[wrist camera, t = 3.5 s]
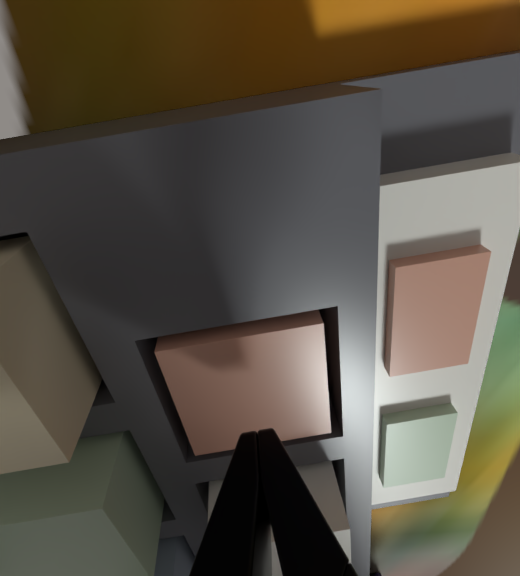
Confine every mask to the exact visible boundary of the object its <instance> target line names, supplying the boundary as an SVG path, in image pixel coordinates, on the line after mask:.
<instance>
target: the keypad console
mask: <svg viewBox="0 0 520 576" xmlns="http://www.w3.org/2000/svg"><path fill="white" fill-rule="evenodd" d="M519 228H520V50H518V51H512V52H506V53H500V54H495V55H489V56H483V57H477V58H471V59H465V60H460V61H454V62H448V63H442V64H436V65H431V66H425V67H419V68H413V69H407V70H402V71H396V72H390V73H384V74H378V75H373V76H367V77H361V78H355V79H349V80H344V81H338V82H332V83H326V84H320V85H314V86H309V87H303V88H297V89H291V90H285V91H280V92H274V93H268V94H262V95H256V96H251V97H245V98H239V99H233V100H227V101H222V102H216V103H210V104H204V105H198V106H193V107H187V108H181V109H175V110H169V111H163V112H158V113H152V114H146V115H140V116H134V117H129V118H123V119H117V120H111V121H105V122H100V123H94V124H88V125H82V126H76V127H71V128H65V129H59V130H53V131H47V132H41V133H36V134H30V135H24V136H18V137H12V138H7V139H1V140H0V241H1V240H7V239H13V238H18V237H24V236H29V237H30V239H31V241H32V243H33V245H34V247H35V249H36V251H37V252H38V254H39V256H40V258H41V260H42V262H43V264H44V266H45V268H46V270H47V272H48V274H49V276H50V278H51V279H52V281H53V283H54V285H55V287H56V289H57V291H58V293H59V295H60V297H61V299H62V301H63V303H64V305H65V306H66V308H67V310H68V312H69V314H70V316H71V318H72V320H73V322H74V324H75V326H76V328H77V330H78V332H79V333H80V335H81V337H82V339H83V341H84V343H85V345H86V347H87V349H88V351H89V353H90V355H91V357H92V359H93V361H94V362H95V364H96V366H97V368H98V370H99V372H100V374H101V376H102V378H103V379H102V381H101V384H100V386H99V389H98V391H97V394H96V396H95V399H94V401H93V404H92V407H91V409H90V412H89V414H88V417H87V419H86V422H85V424H84V427H83V429H82V432H81V434H80V437H79V439H80V438H86V437H92V436H98V435H104V434H110V433H116V432H121V431H127V430H130V432H131V434H132V436H133V438H134V440H135V442H136V443H137V445H138V447H139V449H140V451H141V453H142V455H143V457H144V459H145V461H146V463H147V465H148V467H149V469H150V470H151V472H152V474H153V476H154V478H155V480H156V482H157V484H158V486H159V488H160V490H161V492H162V494H163V496H164V498H165V500H164V507H163V514H162V521H161V528H160V536H159V540H160V539H165V538H171V537H177V536H183V535H184V536H185V538H186V540H187V542H188V544H189V546H190V548H191V550H192V552H193V553H194V555H195V557H196V555H197V552H198V549H199V546H200V543H201V541H202V538H203V535H204V532H205V530H206V527H207V524H208V499H209V481H215V480H220V479H224V477H225V475H226V472H227V469H228V466H229V463H230V461H231V458H232V455H233V452H234V450H235V449H233V450H227V451H221V452H215V453H209V454H203V455H198V456H195V454H194V452H193V449H192V447H191V444H190V442H189V439H188V437H187V434H186V432H185V429H184V427H183V424H182V421H181V419H180V416H179V414H178V411H177V409H176V406H175V404H174V401H173V399H172V396H171V394H170V391H169V389H168V386H167V383H166V381H165V378H164V376H163V373H162V371H161V368H160V366H159V363H158V361H157V358H156V356H155V353H154V351H155V347H156V343H157V339H158V337H160V336H166V335H171V334H177V333H183V332H189V331H195V330H201V329H207V328H212V327H218V326H224V325H230V324H236V323H242V322H247V321H253V320H259V319H265V318H271V317H277V316H283V315H288V314H294V313H300V312H306V311H312V310H319V313H320V315H321V318H322V320H323V323H324V335H325V349H326V364H327V378H328V393H329V408H330V422H331V433H327V434H321V435H315V436H309V437H303V438H297V439H291V440H286V441H281V442H282V444H283V446H284V447H285V449H286V451H287V452H288V454H289V456H290V458H291V459H292V461H293V463H294V465H295V466H296V467H297V466H303V465H309V464H314V463H320V462H326V461H332V465H333V469H334V472H335V476H336V479H337V483H338V487H339V490H340V494H341V497H342V501H343V505H344V508H345V512H346V516H347V519H348V523H349V526H350V537H351V564H352V566H353V567H354V569H355V571H356V572H357V574H358V576H370V543H371V509H377V508H383V507H389V506H395V505H401V504H407V503H412V502H418V501H424V500H430V499H436V498H442V497H448V496H449V493H450V492H451V491H456V487H457V483H458V479H459V475H460V471H461V467H462V463H463V459H464V454H465V450H466V446H467V442H468V438H469V434H470V430H471V426H472V422H473V417H474V413H475V409H476V405H477V401H478V397H479V393H480V389H481V384H482V380H483V376H484V372H485V368H486V364H487V360H488V356H489V352H490V347H491V343H492V339H493V335H494V331H495V327H496V323H497V319H498V314H499V310H500V306H501V302H502V298H503V294H504V290H505V285H506V282H507V277H508V273H509V269H510V265H511V261H512V257H513V252H514V249H515V244H516V240H517V236H518V232H519Z"/></svg>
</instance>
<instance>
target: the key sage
mask: <svg viewBox="0 0 520 576" xmlns="http://www.w3.org/2000/svg"><path fill="white" fill-rule="evenodd" d="M164 500H165V498H164V496H163V494H162V492H161V490H160V488H159V486H158V484H157V482H156V480H155V478H154V476H153V474H152V472H151V470H150V469H149V467H148V465H147V463H146V461H145V459H144V457H143V455H142V453H141V451H140V449H139V447H138V445H137V443H136V442H135V440H134V438H133V436H132V434H131V432H130V430H127V431H121V432H116V433H110V434H104V435H98V436H92V437H86V438H80V439H79V440H78V442H77V445H76V447H75V450H74V452H73V455H72V457H71V460H70V462H69V463H63V464H57V465H51V466H45V467H40V468H34V469H28V470H22V471H16V472H10V473H4V474H0V576H154V572H155V565H156V557H157V550H158V543H159V536H160V528H161V521H162V514H163V507H164Z"/></svg>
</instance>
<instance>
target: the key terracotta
mask: <svg viewBox="0 0 520 576" xmlns="http://www.w3.org/2000/svg"><path fill="white" fill-rule="evenodd" d="M154 353H155V356H156V358H157V361H158V363H159V366H160V368H161V371H162V373H163V376H164V378H165V381H166V383H167V386H168V389H169V391H170V394H171V396H172V399H173V401H174V404H175V406H176V409H177V411H178V414H179V416H180V419H181V421H182V424H183V427H184V429H185V432H186V434H187V437H188V439H189V442H190V444H191V447H192V449H193V452H194V454H195V456H198V455H203V454H209V453H215V452H221V451H227V450H233V449H235V447H236V444H237V441H238V439H239V436H240V434H241V433H243V432H249V431H256V432H258V431H259V430H261V429H267V428H273V429H274V430H275V432H276V433H277V435H278V437H279V439H280V440H281V441H286V440H291V439H297V438H303V437H309V436H315V435H321V434H327V433H331V422H330V408H329V393H328V378H327V364H326V349H325V335H324V323H323V320H322V318H321V315H320V313H319V310H312V311H306V312H300V313H294V314H288V315H283V316H277V317H271V318H265V319H259V320H253V321H247V322H242V323H236V324H230V325H224V326H218V327H212V328H207V329H201V330H195V331H189V332H183V333H177V334H171V335H166V336H160V337H158V339H157V343H156V347H155V351H154Z"/></svg>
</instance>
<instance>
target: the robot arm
mask: <svg viewBox="0 0 520 576" xmlns="http://www.w3.org/2000/svg"><path fill="white" fill-rule="evenodd" d="M271 528H272V532H273V536H274V541H275V545H276V549H277V554H278V558H279V562H280V566H281V571H282V575H283V576H358V574H357V572H356V571H355V569H354V567H353V566H352V564H351V563H349V559H348V557H347V555H346V554H345V552H344V550H343V548H342V547H341V545H340V543H339V541H338V540H337V538H336V536H335V534H334V533H333V531H332V529H331V527H330V526H329V524H328V522H327V521H326V519H325V517H324V515H323V514H322V512H321V510H320V508H319V507H318V505H317V503H316V501H315V500H314V498H313V496H312V494H311V493H310V491H309V489H308V487H307V486H306V484H305V482H304V480H303V479H302V477H301V475H300V473H299V472H298V470H297V468H296V466H295V465H294V463H293V461H292V459H291V458H290V456H289V454H288V452H287V451H286V449H285V447H284V446H283V444H282V442H281V440H280V439H279V437H278V435H277V433H276V432H275V430H274V429H273V428H267V429H261V430H259V431H258V432H256V431H249V432H243V433H241V434H240V436H239V439H238V441H237V444H236V447H235V450H234V452H233V455H232V458H231V461H230V463H229V466H228V469H227V472H226V475H225V477H224V480H223V483H222V486H221V488H220V491H219V494H218V497H217V499H216V502H215V505H214V508H213V510H212V513H211V516H210V519H209V521H208V524H207V527H206V530H205V532H204V535H203V538H202V541H201V543H200V546H199V549H198V552H197V555H196V557H195V560H194V563H193V566H192V568H191V571H190V574H189V576H272V545H271Z"/></svg>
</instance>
